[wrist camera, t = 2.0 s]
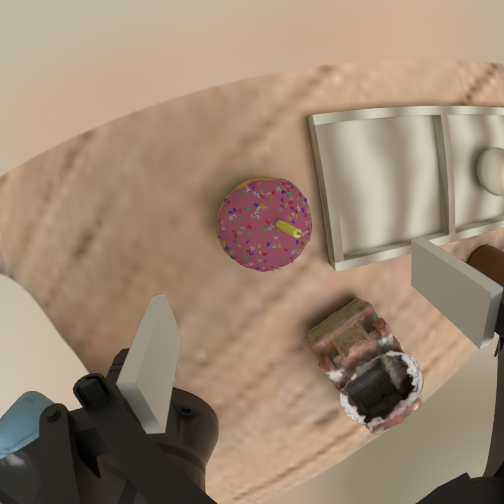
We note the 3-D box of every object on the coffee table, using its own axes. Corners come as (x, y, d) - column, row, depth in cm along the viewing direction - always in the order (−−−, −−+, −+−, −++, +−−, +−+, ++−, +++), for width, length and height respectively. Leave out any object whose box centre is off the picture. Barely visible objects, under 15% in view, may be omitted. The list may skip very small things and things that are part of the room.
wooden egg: (468, 193, 33) (500, 204, 27) (465, 146, 31) (498, 150, 25) (497, 188, 33) (527, 197, 27) (495, 144, 31) (526, 148, 25)
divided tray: (329, 263, 35) (335, 271, 33) (306, 116, 30) (312, 114, 28) (512, 216, 35) (523, 221, 33) (507, 108, 30) (519, 109, 28)
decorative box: (393, 266, 36) (436, 302, 27) (419, 369, 43) (449, 409, 33) (297, 317, 37) (317, 369, 28) (346, 409, 44) (365, 456, 35)
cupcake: (268, 155, 31) (292, 162, 20) (316, 220, 34) (359, 260, 22) (200, 208, 32) (187, 244, 21) (252, 269, 35) (264, 329, 23)
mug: (439, 312, 39) (477, 348, 30) (437, 266, 37) (480, 297, 28) (496, 280, 39) (534, 307, 30) (496, 236, 36) (540, 258, 27)
